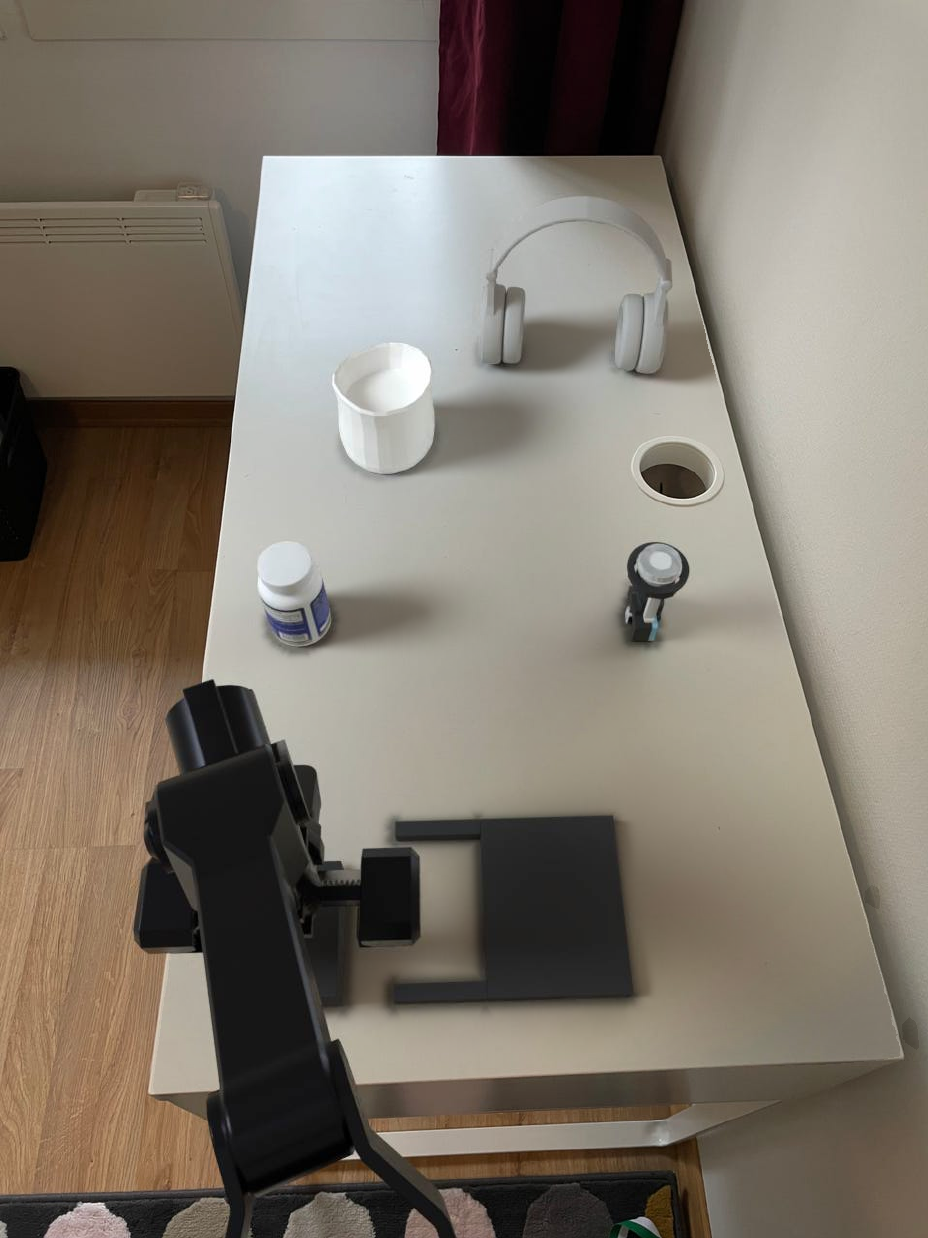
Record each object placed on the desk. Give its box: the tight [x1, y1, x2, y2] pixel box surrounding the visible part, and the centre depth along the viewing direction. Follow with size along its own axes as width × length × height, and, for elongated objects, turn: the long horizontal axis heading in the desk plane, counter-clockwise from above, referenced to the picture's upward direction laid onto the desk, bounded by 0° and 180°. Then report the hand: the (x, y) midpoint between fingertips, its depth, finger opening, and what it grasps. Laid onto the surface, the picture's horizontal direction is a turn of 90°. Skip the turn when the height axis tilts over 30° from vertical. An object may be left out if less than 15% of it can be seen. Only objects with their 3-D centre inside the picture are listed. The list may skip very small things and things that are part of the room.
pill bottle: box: [256, 540, 332, 647], centre depth 86 cm, size 6×6×10 cm
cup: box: [331, 341, 436, 475], centre depth 97 cm, size 10×10×10 cm
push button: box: [624, 541, 691, 642], centre depth 86 cm, size 7×5×10 cm
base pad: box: [393, 814, 634, 1005], centre depth 76 cm, size 14×18×1 cm
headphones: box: [477, 195, 673, 375], centre depth 100 cm, size 20×8×19 cm, turn 85°
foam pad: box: [305, 860, 346, 1008], centre depth 73 cm, size 10×6×4 cm, turn 2°
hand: (299, 928), depth 72 cm, fingers open, 9 cm apart
